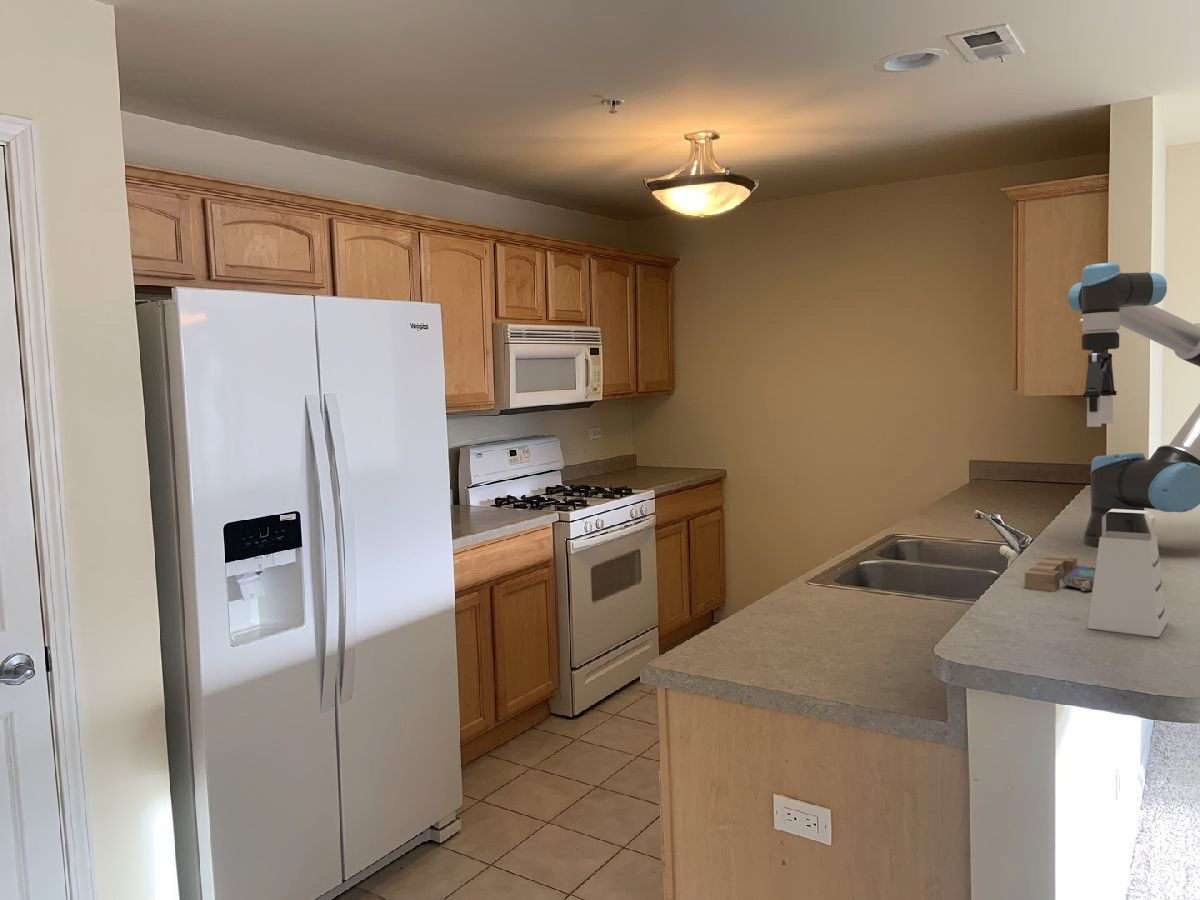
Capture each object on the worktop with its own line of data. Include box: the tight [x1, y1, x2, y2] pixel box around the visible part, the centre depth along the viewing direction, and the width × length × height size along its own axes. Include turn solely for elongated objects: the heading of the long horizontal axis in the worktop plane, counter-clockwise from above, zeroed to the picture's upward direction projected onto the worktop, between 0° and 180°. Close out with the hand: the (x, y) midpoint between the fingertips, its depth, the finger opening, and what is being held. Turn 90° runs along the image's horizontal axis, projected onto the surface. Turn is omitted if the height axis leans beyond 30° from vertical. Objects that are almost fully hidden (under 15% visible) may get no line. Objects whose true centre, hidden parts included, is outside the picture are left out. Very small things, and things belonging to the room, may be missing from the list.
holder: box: [1024, 555, 1078, 593], centre depth 184 cm, size 21×21×4 cm
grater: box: [1087, 509, 1168, 638], centre depth 153 cm, size 10×10×20 cm
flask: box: [1062, 564, 1096, 592], centre depth 181 cm, size 9×3×11 cm
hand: (1100, 425), depth 205 cm, fingers open, 13 cm apart
